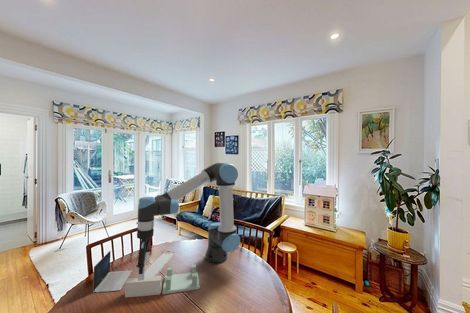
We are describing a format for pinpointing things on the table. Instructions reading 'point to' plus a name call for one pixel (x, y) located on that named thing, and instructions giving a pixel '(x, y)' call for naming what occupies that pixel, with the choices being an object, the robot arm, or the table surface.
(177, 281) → the rack
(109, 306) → the table surface
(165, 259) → the baseboard
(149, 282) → the white rectangular block
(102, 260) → the laptop
